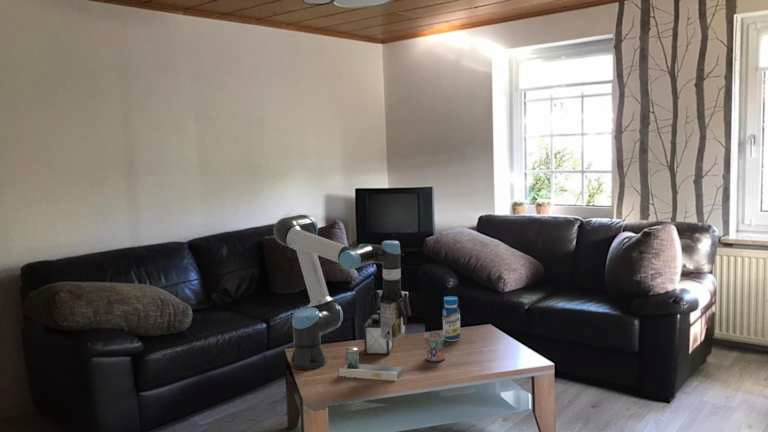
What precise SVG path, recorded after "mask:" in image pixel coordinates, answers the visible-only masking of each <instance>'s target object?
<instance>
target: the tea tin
mask: <svg viewBox="0 0 768 432" xmlns="http://www.w3.org/2000/svg"><path fill="white" fill-rule="evenodd" d="M359 351H360V350H359V347H357V346H348V347H346V348H345V354H346V357H345V358H346V365H347V369H358V368H359V364H360V359H359V354H360V353H359Z"/></svg>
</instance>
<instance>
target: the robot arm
mask: <svg viewBox="0 0 768 432" xmlns="http://www.w3.org/2000/svg"><path fill="white" fill-rule="evenodd" d="M318 231H319V224H318V223H317V220H316V219H315V218H314V217H313V216H311V215H309V214H297V215H293V216H286V217H285V216H284V217H283V218H280V219H279V220H278V221H277V222H276V223H275V224H274V226H273V235H274V238H275V240H276V241H277V242H278V243H280V244H281V245H283V246H286V247H289V248H290V249H293V250H294V251H296V254H297V258H298V262H299V265H300V268H301V272H302V275H303V279H304V282H305V286H306V289H307V293H308V297H309V300H310V303H309V304H308V307H305V308H301V309H298V310H296V311H295V312H294V313H293V314H292V316H291V317H292V318H291V319H292V321H291V325H292V337H293V339H292V340H293V350H292V354H291V358H290V367H291V368H293V369H295V368H296V370H301V369H308V370H314V369H313V368H315V369H318V367H319V368H321V367H323V366H325V365H326V364H325V363H327V359H326V358H327V357H326V353H325V351H324V349H323V346H322V339H321V337H322V336H323V335H325V334H327V333H329V332H332V331H334V330H336V328H339V326H341V324H342V322H343V320H344V319H343V318H344V313H343V310H342V309H343V308H342V307H341V306H340V305H339V304H338V303H336V302H335V300H334V298H333V297H332V296H330V293H329V290H328V287H327V285H326V284H327V283H326V280H325V277H324V274H323V270H322V267H321V263H320V260H319V257H322V258H324V259H325V258H326V259H328V260H331V261H332V262H336V263H339V265H340V266H341V267H342V268H343V269H345V270H354V269H357V268H359V267H362V266H365V265H369V264H371V263H372V264H373V263H375V264H376V263H377V264H381V265H382V267H381V269H382V290H380V289H379V290H376V291H375V297H376V299H375V305H374V314H373V315H376V314H377V315H378V316H379V323H381V318H380V301H382V300H381V298H382V295H383V296H384V299H383V300H384V301H387V300H393V301H396V302H398V307H399V310H400V312H401V314H402V317H401V333H403V332H404V331H405V332H406V327H405V328H404V325H405V326H406V325H407V321H408V320H407V317H410V316H411V315H412V312H411V308H410V307H411V306H410V301H409V291H403V290H402V281H401V280H402V279H401V277H402V275H401V273H402V272H401V270H402V269H401V252H402V251H401V244H400V241H398V240H384V241H382V242H381V245H379V244H369V243H361V244H358V246H357V247H356V248H353V247H350V246H347V245H344V244H342V243H340V242H336V241H334V240H330V239H327V238H325V237H322V236H319V235H318ZM401 295H402V296H401ZM401 297H402V298H403V299H404V307H403V305H402V303H401V302H400V300H401V299H400V298H401ZM324 364H325V365H324ZM320 366H321V367H320Z"/></svg>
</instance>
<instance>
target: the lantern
mask: <svg viewBox="0 0 768 432" xmlns="http://www.w3.org/2000/svg"><path fill="white" fill-rule="evenodd" d="M373 293H376V290H374V291H372V292H371V294H370V295H369V296H368V299H367V301H369V300H370V298H371V295H372V294H373ZM366 305H367V308H366V309H367V311H366V312H367V314H369V310H368V309H369V308H368V307H369V304H366ZM363 341H364V356H390V353H391V351H392V349H393V347H394V343H393V341H389V340H385V339H381V323H379V316H378V315H377V314H373V315H371V316H370V317H369V318H367V321H366V322H365V324H364V325H363Z"/></svg>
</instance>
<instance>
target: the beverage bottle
mask: <svg viewBox="0 0 768 432" xmlns="http://www.w3.org/2000/svg"><path fill="white" fill-rule="evenodd" d="M443 305H444V306H443V309H442V317H441V319H442V333H443V334H445V338H444V341H447V342H455V341H456V342H457V341H459V340H460V339H461V338H462V337H461V315H460V313H461V310H460V308H459V307H458V305H459V299H458V297H457V296H453V295H452V296H451V295H448V296H444V297H443Z"/></svg>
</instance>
